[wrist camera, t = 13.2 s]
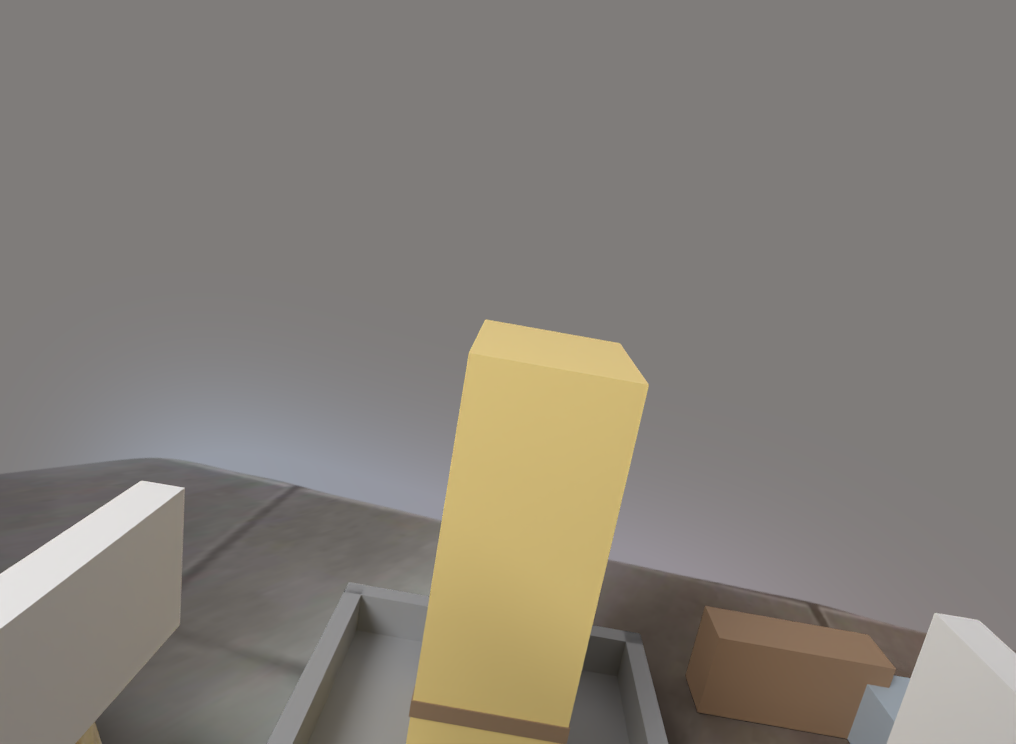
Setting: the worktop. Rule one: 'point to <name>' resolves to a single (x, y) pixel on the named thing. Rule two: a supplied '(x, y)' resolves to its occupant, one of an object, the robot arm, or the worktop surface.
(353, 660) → the tray
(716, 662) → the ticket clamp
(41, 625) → the robot arm
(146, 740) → the worktop surface
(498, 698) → the stub
